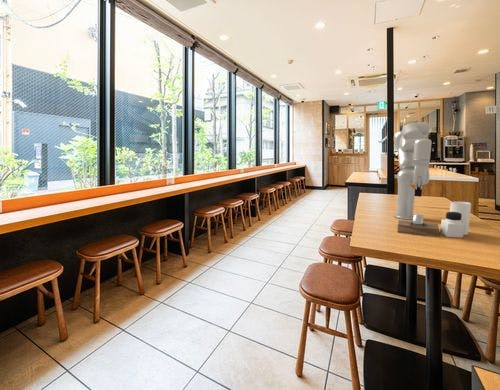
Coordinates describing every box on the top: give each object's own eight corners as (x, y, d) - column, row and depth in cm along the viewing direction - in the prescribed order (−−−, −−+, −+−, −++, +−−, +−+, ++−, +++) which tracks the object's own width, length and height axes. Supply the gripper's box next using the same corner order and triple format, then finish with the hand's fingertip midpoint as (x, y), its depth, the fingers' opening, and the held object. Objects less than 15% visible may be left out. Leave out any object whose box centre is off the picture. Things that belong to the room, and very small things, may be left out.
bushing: (411, 229, 140) (412, 213, 139) (421, 230, 138) (423, 214, 137) (412, 231, 136) (413, 215, 135) (422, 232, 134) (423, 216, 133)
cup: (449, 229, 140) (452, 200, 137) (468, 232, 134) (472, 202, 131) (446, 232, 134) (449, 202, 132) (467, 235, 128) (470, 204, 126)
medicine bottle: (463, 238, 125) (466, 214, 122) (446, 237, 126) (449, 214, 124) (455, 232, 131) (458, 210, 129) (439, 232, 133) (442, 210, 131)
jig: (398, 226, 147) (399, 219, 146) (437, 231, 137) (437, 223, 136) (397, 232, 137) (397, 224, 136) (438, 237, 127) (439, 228, 126)
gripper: (412, 161, 143) (410, 193, 147) (412, 163, 131) (409, 198, 135) (429, 161, 139) (425, 194, 143) (430, 164, 127) (426, 199, 131)
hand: (417, 196), depth 139 cm, fingers closed
